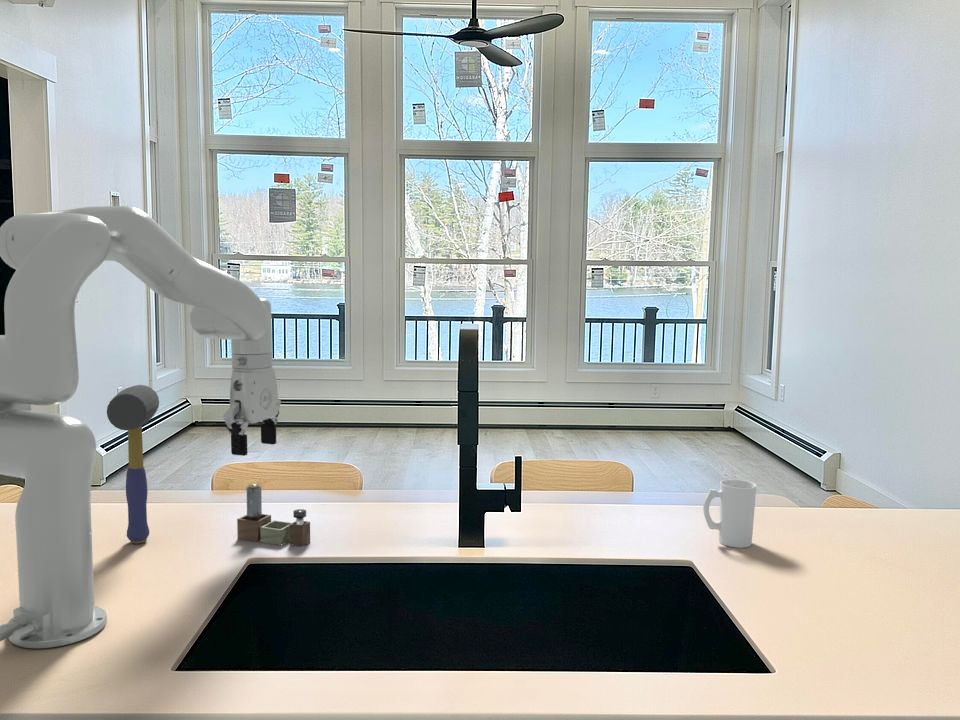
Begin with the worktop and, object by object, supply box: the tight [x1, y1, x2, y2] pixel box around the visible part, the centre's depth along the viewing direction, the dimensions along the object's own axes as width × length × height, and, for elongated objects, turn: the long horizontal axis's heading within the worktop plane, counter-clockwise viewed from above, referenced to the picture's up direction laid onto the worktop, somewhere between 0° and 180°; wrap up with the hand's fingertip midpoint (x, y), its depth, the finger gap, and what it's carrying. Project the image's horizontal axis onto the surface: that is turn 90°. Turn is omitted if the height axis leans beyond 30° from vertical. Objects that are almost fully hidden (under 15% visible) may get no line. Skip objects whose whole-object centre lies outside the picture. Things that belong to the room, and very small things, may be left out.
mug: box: [703, 478, 757, 549], centre depth 157 cm, size 10×7×12 cm, turn 92°
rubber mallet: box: [106, 384, 160, 544], centre depth 151 cm, size 12×8×30 cm, turn 11°
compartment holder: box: [236, 513, 311, 547], centre depth 155 cm, size 5×14×4 cm, turn 71°
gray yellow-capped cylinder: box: [245, 482, 263, 521], centre depth 156 cm, size 3×3×11 cm
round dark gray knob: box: [292, 508, 307, 525], centre depth 153 cm, size 2×2×6 cm
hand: (254, 449), depth 155 cm, fingers open, 9 cm apart
